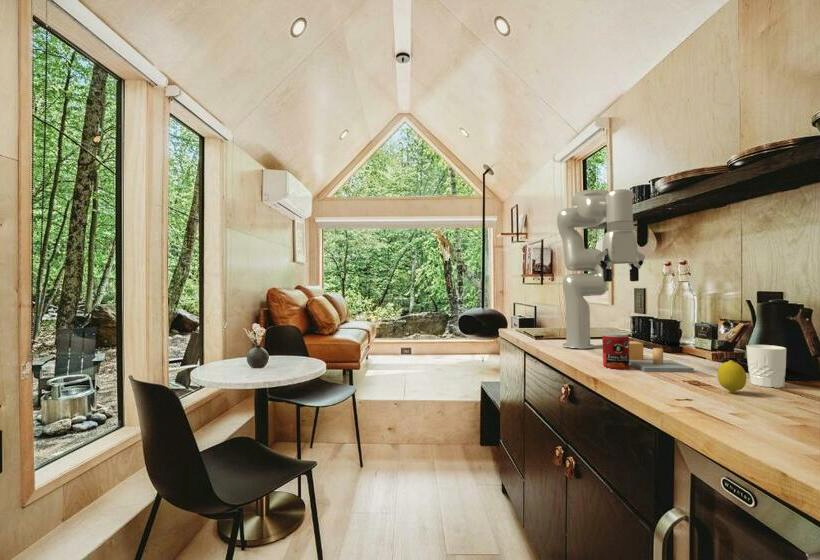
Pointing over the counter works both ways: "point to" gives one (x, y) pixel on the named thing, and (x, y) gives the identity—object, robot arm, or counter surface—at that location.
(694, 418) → the counter surface
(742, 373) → the lemon
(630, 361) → the stub board
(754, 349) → the white cup
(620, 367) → the canned food
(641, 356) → the tan block
